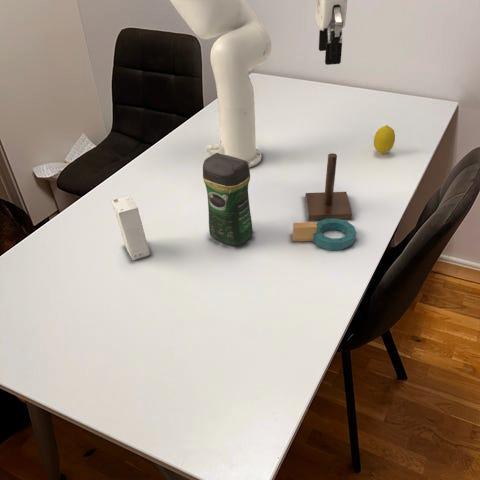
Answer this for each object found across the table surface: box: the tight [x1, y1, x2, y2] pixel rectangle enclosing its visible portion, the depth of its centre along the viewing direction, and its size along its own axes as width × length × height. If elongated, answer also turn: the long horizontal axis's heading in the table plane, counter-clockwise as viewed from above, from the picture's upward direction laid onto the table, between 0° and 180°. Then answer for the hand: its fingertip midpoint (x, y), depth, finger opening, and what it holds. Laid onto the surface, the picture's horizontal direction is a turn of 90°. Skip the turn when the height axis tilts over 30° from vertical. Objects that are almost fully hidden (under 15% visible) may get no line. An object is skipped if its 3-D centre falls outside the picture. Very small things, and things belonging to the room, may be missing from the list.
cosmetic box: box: [111, 195, 151, 261], centre depth 101 cm, size 6×4×12 cm
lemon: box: [373, 124, 396, 155], centre depth 129 cm, size 6×6×8 cm
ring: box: [292, 219, 357, 251], centre depth 104 cm, size 14×9×4 cm
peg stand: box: [304, 152, 353, 222], centre depth 109 cm, size 10×10×14 cm
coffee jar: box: [202, 153, 254, 247], centre depth 101 cm, size 10×8×19 cm
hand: (329, 56), depth 102 cm, fingers open, 9 cm apart
